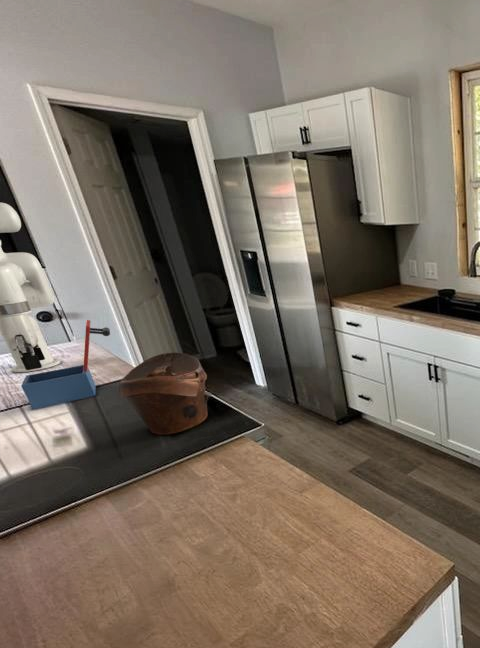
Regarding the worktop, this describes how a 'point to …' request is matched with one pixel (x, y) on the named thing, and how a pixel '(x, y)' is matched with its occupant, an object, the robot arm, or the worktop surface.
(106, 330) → the box lid
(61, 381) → the storage box
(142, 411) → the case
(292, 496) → the worktop surface
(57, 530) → the worktop surface
